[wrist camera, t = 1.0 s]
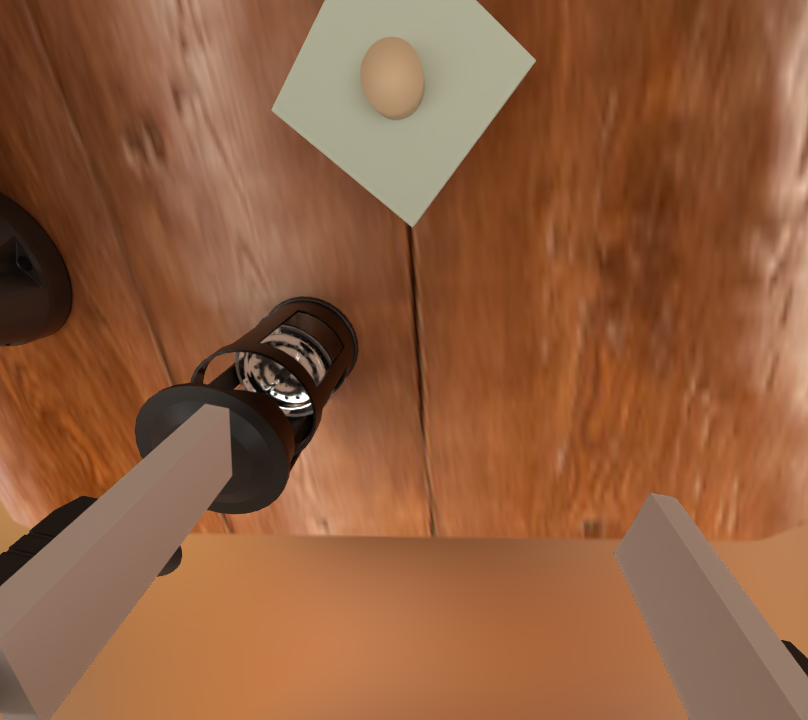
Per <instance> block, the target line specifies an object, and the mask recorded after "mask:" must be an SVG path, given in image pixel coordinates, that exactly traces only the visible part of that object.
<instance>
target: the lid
mask: <svg viewBox="0 0 808 720" xmlns="http://www.w3.org/2000/svg"><path fill="white" fill-rule="evenodd" d="M535 61H536V60H535V59H534V58H533V57H532V56H531V55H530V54H529V53H528V52H527V51H526V50H525V49H524V48H523V47H522V46H521V45H520V44H519V43H518V42H517V41H516V40H515V39H514V38H513V37H512V36H511V35H510V34H509V33H508V32H507V31H506V30H505V29H504V28H503V27H502V26H501V25H500V24H499V23H498V22H497V21H496V20H495V19H494V18H493V17H492V16H491V15H490V14H489V13H488V12H487V11H486V10H485V9H484V8H483V7H482V6H481V5H480V4H479V3H478V2H477V1H476V0H325V1H324V3H323V5H322V7H321V9H320V11H319V13H318V16H317V18H316V20H315V22H314V24H313V26H312V28H311V30H310V32H309V34H308V36H307V38H306V40H305V42H304V44H303V46H302V48H301V50H300V52H299V54H298V56H297V59H296V61H295V63H294V65H293V67H292V69H291V71H290V73H289V75H288V77H287V79H286V81H285V83H284V85H283V87H282V89H281V91H280V93H279V95H278V97H277V99H276V102H275V104H274V106H273V108H272V110H271V111H273V112H274V113H275V114H276V115H277V116H279V117H280V118H281V119H282V120H283V121H285V122H286V123H287V124H288V125H290V126H291V127H292V128H293V129H294V130H296V131H297V132H298V133H299V134H300V135H302V136H303V137H304V138H305V139H306V140H308V141H309V142H310V143H311V144H312V145H314V146H315V147H316V148H317V149H318V150H320V151H321V152H322V153H323V154H324V155H326V156H327V157H328V158H329V159H330V160H332V161H333V162H334V163H335V164H337V165H338V166H339V167H340V168H341V169H343V170H344V171H345V172H346V173H347V174H349V175H350V176H351V177H352V178H353V179H355V180H356V181H357V182H358V183H359V184H361V185H362V186H363V187H364V188H365V189H367V190H368V191H369V192H370V193H371V194H373V195H374V196H375V197H376V198H377V199H379V200H380V201H381V202H382V203H384V204H385V205H386V206H387V207H388V208H390V209H391V210H392V211H393V212H394V213H396V214H397V215H398V216H399V217H400V218H402V219H403V220H404V221H405V222H406V223H408V224H409V225H410V226H411V227H412V228H413V227H414V226H415V225H416V223H417V222H418V221H419V219H420V218H421V217H422V215H423V214H424V213H425V211H426V210H427V209H428V207H429V206H430V204H431V203H432V202H433V200H434V199H435V198H436V196H437V195H438V194H439V192H440V191H441V190H442V188H443V187H444V186H445V184H446V183H447V181H448V180H449V179H450V177H451V176H452V175H453V173H454V172H455V171H456V169H457V168H458V167H459V165H460V164H461V163H462V161H463V160H464V158H465V157H466V156H467V154H468V153H469V152H470V150H471V149H472V148H473V146H474V145H475V144H476V142H477V141H478V140H479V138H480V137H481V135H482V134H483V133H484V131H485V130H486V129H487V127H488V126H489V125H490V123H491V122H492V121H493V119H494V118H495V117H496V115H497V114H498V112H499V111H500V110H501V108H502V107H503V106H504V104H505V103H506V102H507V100H508V99H509V98H510V96H511V95H512V94H513V92H514V91H515V89H516V88H517V87H518V85H519V84H520V83H521V81H522V80H523V79H524V77H525V76H526V74H527V73H528V72H529V70H530V69H531V67H532V66H533V64H534V63H535Z"/></svg>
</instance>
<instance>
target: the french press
mask: <svg viewBox="0 0 808 720" xmlns="http://www.w3.org/2000/svg"><path fill="white" fill-rule="evenodd" d="M297 312H301V313H305V314H309V315H311V316H313V317H315V318H317V319H319V320H320V321H322V322H323V323H325V324H326V325H327V326H328V327H329V328H330V329H331V330H333V332H334V333H335V334H336V336H337V337H338V338H339V340H340V342H341V344H342V346H343V348H342V349H341V351H340V352H339V354H338V355H337V357H336V358H335V360H334V361H332V358H331V356H330V355H329V353H328V351H327V350H326V349H325V347H324V346H323V345H322V344H321V343H320V342H319V341H318V340H317V339H316V338H315V337H314V336H312V335H310V334H309V333H307V332H306V331H304V330H302V329H300V328H298V327H295V326H291V325H287V324H284V323H285V322H286V321H287V320H289V319H290V318H291V317H292V316H294V315H295V314H296V313H297ZM231 352H236V356H235V363H234V364H233V365H232V366H231V367H229V368H228V369H227V370H226V371H224V372H223V373H222V374H221V375H219V376H218V377H217V378H216V379H215V380H213V381H212V382H211V383H210V384H208V385H207V384H203V379H204V374H205V371H206V368H207V366H208V364H209V363H210V361H211V360H212V359H213V358H214V357H216V356H218V355H221V354H224V353H231ZM357 356H358V341H357V337H356V333H355V331H354V329H353V327H352V325H351V323H350V322H349V320H348V319H347V318H346V316H345V315H344V314H343V313H342V312H341V311H340V310H339V309H337V308H336V307H334V306H333V305H331V304H330V303H327V302H325V301H323V300H320V299H316V298H312V297H297V298H291V299H289V300H286V301H284V302H282V303H281V304H279V305H278V306H276V307H275V308H274V309H273V310H272V311H271V312H270V313H269V315H268V316H266V317H265V318H264V319H262V320H261V321H260V323H259V324H258V325H257V326H256V327H255V328H254V329H252V330H251V331H250V332H248V333H247V334H245V335H244V336H243V337H241V338H240V339H238V340H237V341H236V342H234V343H233V344H230V345H227V346H225V347H222V348H221V349H219V350H218V351H216V352H215V353H214V354H212V355H211V356H209V357H208V358H206V359H205V360H204V361H202V362H201V364H200V365H199V366H198V367H197V368H196V369H195V372H194V374H193V376H192V378H191V382H190V383H186V384H178V385H173V386H171V387H168V388H165V389H162V390H161V391H159V392H158V393H156V394H155V395H154V396H152V397H151V398H149V399H148V400H147V401H146V403H145V404H144V405H143V406H142V407H141V409H140V411H139V414H138V416H137V419H136V426H135V435H136V443H137V446H138V449H139V452H140V454H141V457H142V458H143V459H144V458H145V457H146V456H147V455H148V454H149V453H151V452H152V451H153V450H154V449H155V448H156V447H157V446H158V445H160V444H161V443H162V442H163V441H164V440H165V439H166V438H167V437H169V436H170V435H171V434H172V433H173V432H174V431H175V430H176V429H178V428H179V427H180V426H181V425H182V424H183V423H184V422H185V421H187V420H188V419H189V418H190V417H191V416H192V415H193V414H194V413H196V412H197V411H198V410H199V409H200V408H201V407H202V406H203V405H204V404H209V405H214V406H219V407H224V408H229V418H230V439H231V459H232V477H231V478H230V479H229V481H228V482H227V483H226V485H225V486H224V487H223V489H222V490H221V491H220V493H219V494H218V495H217V497H216V498H215V499H214V501H213V502H212V503H211V505H210V506H209V507H208V509H207V510H210V511H214V512H218V513H226V514H246V513H250V512H254V511H258V510H260V509H263V508H265V507H267V506H269V505H270V504H271V503H272V502H274V501H275V500H276V499H277V498H278V497H279V496H280V494H281V493H282V491H283V490H284V488H285V486H286V484H287V481H288V479H289V474H290V471H291V469H292V468H293V466H294V464H295V462H296V460H297V459H298V457H299V455H300V453H301V452H302V450H303V449H304V448H305V447H306V446H307V445H308V443H309V442H310V441H311V439H312V437H313V436H314V434H315V432H316V430H317V428H318V426H319V423H320V421H321V415H322V409H323V407H324V406H325V405H326V403H327V402H328V401H329V399H330V398H331V396H332V394H333V393H334V392H335V391H336V390H337V389H338V388H339V387H340V385H341V384H342V383H343V381H344V379H345V378H346V377H347V376H348V375H349V374H350V372H351V371H352V369H353V368H354V365H355V363H356V360H357ZM240 383H241V385H242V386H243V388H244V390H233V389H234V388H235V387H236V386H238V385H239V384H240ZM286 416H287V417H286ZM181 558H182V549H181V546H179V547H178V549H177V550H176V551H175V553H174V554H173V555H172V557H171V558H170V559H169V561H168V562H167V563H166V565H165V566H164V567H163V569H162V570H161V571H160V573H159V574H158V575H157V577H158V576H163V575H166V574H169V573H171V572H173V571H174V570H175V569H176V568H178V566H179V565H180V563H181Z"/></svg>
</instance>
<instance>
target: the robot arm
mask: <svg viewBox="0 0 808 720" xmlns="http://www.w3.org/2000/svg"><path fill="white" fill-rule="evenodd" d="M70 306H71V288H70V282H69V278H68V275H67V271H66V269H65V266H64V264H63V261H62V259H61V257H60V255H59V253H58V251H57V249H56V248H55V246H54V244H53V243H52V241H51V240H50V238H49V237H48V236H47V234H46V233H45V232H44V230H43V229H42V228H41V227H40V226H39V225H38V223H37V222H36V221H35V220H34V219H33V218H32V217H31V216H30V215H29V214H28V213H27V212H25V211H24V210H23V209H22V208H21V207H20V206H18V205H17V204H16V203H14V202H13V201H12V200H10V199H9V198H7V197H6V196H4V195H2V194H0V346H17V345H22V344H26V343H29V342H32V341H35V340H38V339H40V338H43V337H46V336H48V335H51V334H53V333H54V332H56V331H57V330H58V329H59V328H60V327H61V326H62V325H63V324H64V322H65V321H66V319H67V316H68V314H69V311H70ZM231 477H232V459H231V439H230V418H229V408H224V407H219V406H214V405H209V404H204V405H203V406H202V407H201V408H200V409H199V410H198V411H197V412H196V413H194V414H193V415H192V416H191V417H190V418H189V419H188V420H187V421H185V422H184V423H183V424H182V425H181V426H180V427H179V428H178V429H176V430H175V431H174V432H173V433H172V434H171V435H170V436H169V437H167V438H166V439H165V440H164V441H163V442H162V443H161V444H160V445H158V446H157V447H156V448H155V449H154V450H153V451H152V452H151V453H149V454H148V455H147V456H146V457H145V458H144V459H143V460H142V461H141V462H139V463H138V464H137V465H136V466H135V467H134V468H133V469H132V470H130V471H129V472H128V473H127V474H126V475H125V476H124V477H123V478H121V479H120V480H119V481H118V482H117V483H116V484H115V485H114V486H112V487H111V488H110V489H109V490H108V491H107V492H106V493H105V494H103V495H102V496H101V497H100V498H99V499H96V498H92V497H87V496H81V497H79V498H77V499H75V500H73V501H71V502H70V503H68V504H66V505H64V506H62V507H60V508H58V509H56V510H54V511H53V512H52V513H51V514H49V515H48V516H47V517H46V518H44V519H43V520H42V521H41V522H40V523H38V524H37V525H36V526H35V527H33V528H32V529H31V530H30V532H29V534H28V535H24V536H22V537H21V538H20V539H19V540H18V541H16V542H15V543H14V544H13V545H12V546H10V547H9V550H8V551H7V552H3V553H2V554H1V555H0V713H1V715H2V716H3V718H4V719H9V720H50V718H51V717H52V716H53V714H54V713H55V712H56V710H57V709H58V708H59V706H60V705H61V704H62V702H63V701H64V700H65V698H66V697H67V696H68V694H69V693H70V692H71V690H72V689H73V688H74V686H75V685H76V684H77V682H78V681H79V680H80V678H81V677H82V676H83V674H84V673H85V672H86V670H87V669H88V668H89V666H90V665H91V664H92V662H93V661H94V659H95V658H96V657H97V656H98V654H99V653H100V652H101V650H102V649H103V648H104V646H105V645H106V644H107V642H108V641H109V640H110V638H111V637H112V636H113V634H114V633H115V632H116V630H117V629H118V628H119V626H120V625H121V623H122V622H123V621H124V619H125V618H126V617H127V616H128V614H129V613H130V612H131V610H132V609H133V607H134V606H135V605H136V603H137V602H138V601H139V599H140V598H141V597H142V596H143V594H144V593H145V592H146V590H147V589H148V587H149V586H150V585H151V583H152V582H153V581H154V579H155V578H156V577H157V575H158V574H159V573H160V571H161V570H162V569H163V567H164V566H165V565H166V563H167V562H168V561H169V559H170V558H171V557H172V555H173V554H174V553H175V551H176V550H177V549H178V547H179V546H180V545H181V543H182V542H183V541H184V539H185V538H186V537H187V535H188V534H189V533H190V531H191V530H192V529H193V527H194V526H195V525H196V523H197V522H198V521H199V519H200V518H201V517H202V515H203V514H204V513H205V511H206V510H207V509H208V507H209V506H210V505H211V503H212V502H213V501H214V499H215V498H216V497H217V495H218V494H219V493H220V491H221V490H222V489H223V487H224V486H225V485H226V483H227V482H228V481H229V479H230V478H231ZM614 555H615V557H616V559H617V561H618V564H619V566H620V568H621V570H622V572H623V575H624V577H625V579H626V581H627V583H628V586H629V588H630V590H631V592H632V594H633V597H634V599H635V601H636V603H637V605H638V608H639V610H640V612H641V614H642V617H643V619H644V621H645V623H646V625H647V628H648V630H649V632H650V634H651V636H652V639H653V641H654V643H655V644H656V647H657V650H658V652H659V654H660V656H661V658H662V661H663V663H664V665H665V667H666V669H667V672H668V674H669V676H670V678H671V680H672V683H673V685H674V687H675V689H676V691H677V694H678V696H679V698H680V700H681V703H682V705H683V707H684V709H685V711H686V714H687V716H688V718H689V720H808V658H806V657H805V655H803V654H802V653H801V652H800V651H799V650H798V649H797V648H796V647H795V646H794V645H793V644H792V643H791V642H789V641H784V640H780V638H779V637H778V636H777V634H776V633H775V632H774V630H773V629H772V628H771V626H770V625H769V624H768V622H767V621H766V619H765V618H764V617H763V615H762V614H761V613H760V611H759V610H758V609H757V607H756V606H755V604H754V603H753V602H752V600H751V599H750V598H749V596H748V595H747V594H746V592H745V591H744V590H743V588H742V587H741V585H740V584H739V583H738V581H737V580H736V579H735V577H734V576H733V575H732V573H731V572H730V570H729V569H728V568H727V566H726V565H725V564H724V563H723V561H722V560H721V558H720V557H719V556H718V555H717V553H716V551H715V550H714V549H713V547H712V546H711V545H710V543H709V542H708V541H707V539H706V538H705V536H704V535H703V534H702V532H701V531H700V530H699V528H698V527H697V526H696V524H695V523H694V522H693V520H692V519H691V517H690V516H689V515H688V513H687V512H686V511H685V509H684V508H683V507H682V505H681V504H680V502H679V501H678V500H677V498H676V497H671V496H666V495H660V494H655V493H650V494H649V496H648V497H647V499H646V501H645V502H644V504H643V506H642V508H641V509H640V511H639V513H638V514H637V516H636V518H635V519H634V521H633V523H632V524H631V526H630V528H629V529H628V531H627V533H626V534H625V536H624V538H623V539H622V541H621V543H620V544H619V546H618V548H617V550H616V551H615V553H614Z"/></svg>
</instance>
